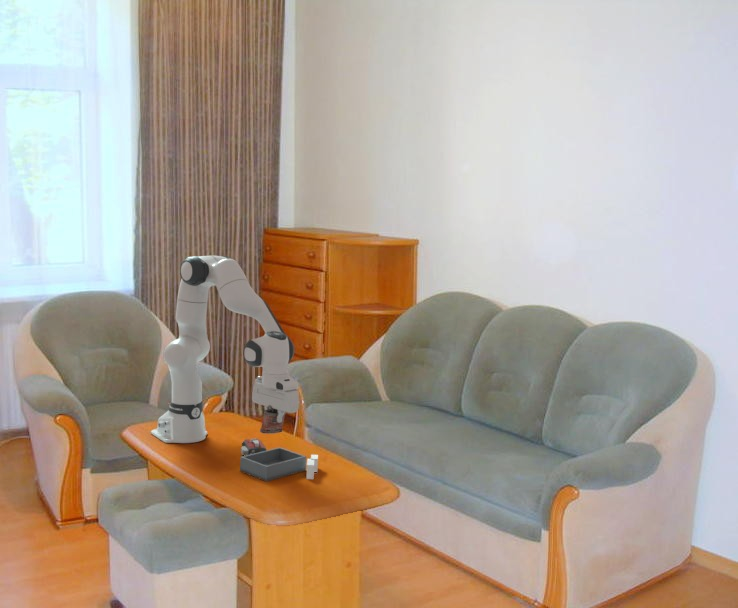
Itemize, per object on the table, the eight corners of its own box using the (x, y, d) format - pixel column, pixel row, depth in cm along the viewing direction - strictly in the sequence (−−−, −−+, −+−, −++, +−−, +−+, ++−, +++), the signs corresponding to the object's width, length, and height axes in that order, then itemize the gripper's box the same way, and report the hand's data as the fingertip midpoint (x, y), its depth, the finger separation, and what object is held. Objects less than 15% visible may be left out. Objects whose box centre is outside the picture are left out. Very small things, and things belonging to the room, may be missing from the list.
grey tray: (239, 471, 302) (240, 456, 301) (279, 460, 314) (279, 447, 314) (266, 481, 292) (266, 466, 292) (305, 470, 305) (306, 456, 304)
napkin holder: (312, 484, 293) (312, 467, 293) (286, 476, 300) (286, 459, 299) (340, 473, 305) (341, 457, 305) (314, 466, 312) (315, 450, 311)
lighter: (262, 434, 299) (267, 407, 296) (258, 429, 302) (263, 402, 299) (283, 432, 304) (289, 406, 301) (279, 427, 307) (284, 401, 304)
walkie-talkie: (236, 447, 330) (246, 463, 311) (236, 435, 329) (246, 451, 310) (259, 445, 332) (271, 462, 314) (260, 434, 332) (271, 450, 313)
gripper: (248, 376, 304) (247, 415, 306) (288, 387, 290) (287, 428, 292) (262, 373, 308) (261, 412, 310) (302, 384, 295) (301, 425, 297)
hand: (274, 420), depth 301 cm, fingers closed on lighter, 3 cm apart
